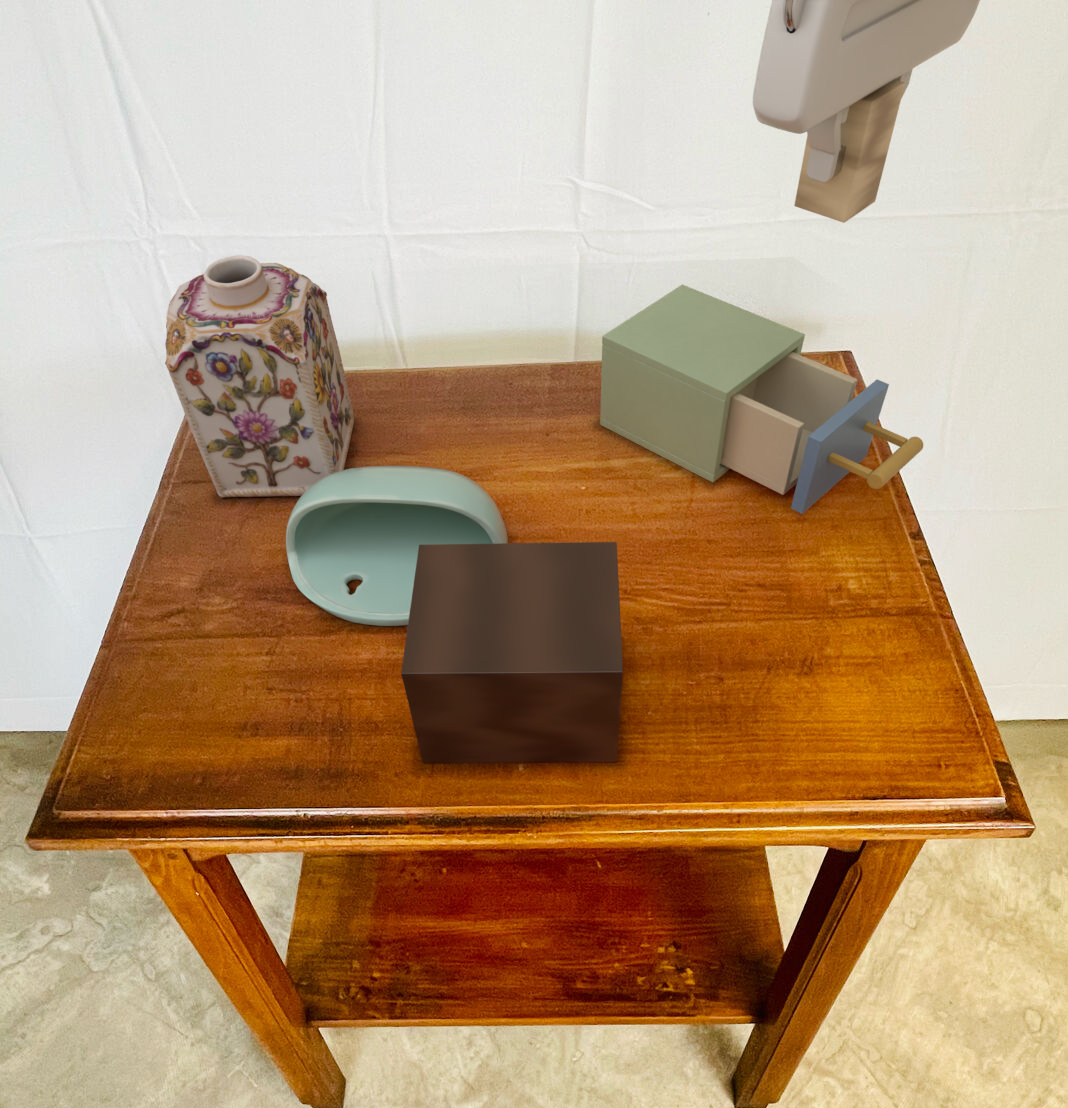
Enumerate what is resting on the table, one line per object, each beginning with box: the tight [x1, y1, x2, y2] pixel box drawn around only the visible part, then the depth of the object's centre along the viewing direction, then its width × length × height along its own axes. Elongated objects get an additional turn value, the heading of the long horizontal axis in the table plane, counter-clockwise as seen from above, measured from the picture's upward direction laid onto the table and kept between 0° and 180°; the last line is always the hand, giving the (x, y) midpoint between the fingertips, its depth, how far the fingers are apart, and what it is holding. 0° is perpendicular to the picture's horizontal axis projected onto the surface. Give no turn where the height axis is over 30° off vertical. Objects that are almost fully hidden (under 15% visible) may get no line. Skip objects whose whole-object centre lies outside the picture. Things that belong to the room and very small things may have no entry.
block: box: [794, 80, 905, 224], centre depth 59 cm, size 4×4×7 cm
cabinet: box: [599, 284, 806, 484], centre depth 83 cm, size 14×12×9 cm
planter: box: [285, 465, 509, 627], centre depth 75 cm, size 19×7×16 cm
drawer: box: [720, 351, 924, 515], centre depth 78 cm, size 18×10×7 cm, turn 47°
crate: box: [400, 541, 624, 764], centre depth 64 cm, size 14×12×10 cm
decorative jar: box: [164, 254, 355, 499], centre depth 79 cm, size 12×12×18 cm
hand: (844, 162), depth 60 cm, fingers closed on block, 4 cm apart
